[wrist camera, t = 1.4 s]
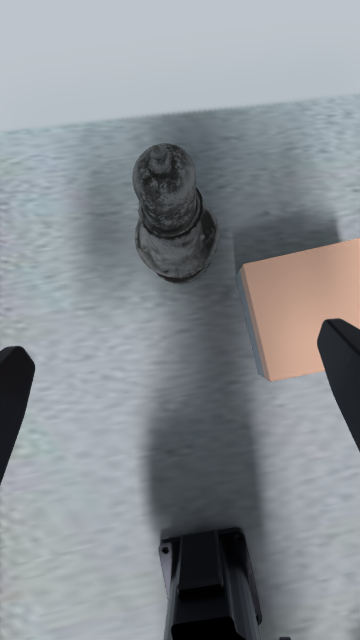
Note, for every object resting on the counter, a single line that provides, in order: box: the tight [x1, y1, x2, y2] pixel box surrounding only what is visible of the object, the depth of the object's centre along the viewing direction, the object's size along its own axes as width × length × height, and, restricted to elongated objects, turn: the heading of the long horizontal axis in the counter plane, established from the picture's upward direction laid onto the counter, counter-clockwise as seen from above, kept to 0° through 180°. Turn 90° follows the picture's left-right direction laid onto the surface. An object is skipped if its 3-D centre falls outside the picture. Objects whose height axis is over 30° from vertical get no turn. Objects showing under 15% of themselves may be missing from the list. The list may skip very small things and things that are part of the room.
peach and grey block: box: [236, 238, 360, 381], centre depth 19 cm, size 8×8×4 cm
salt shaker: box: [133, 144, 219, 283], centre depth 16 cm, size 6×6×12 cm
